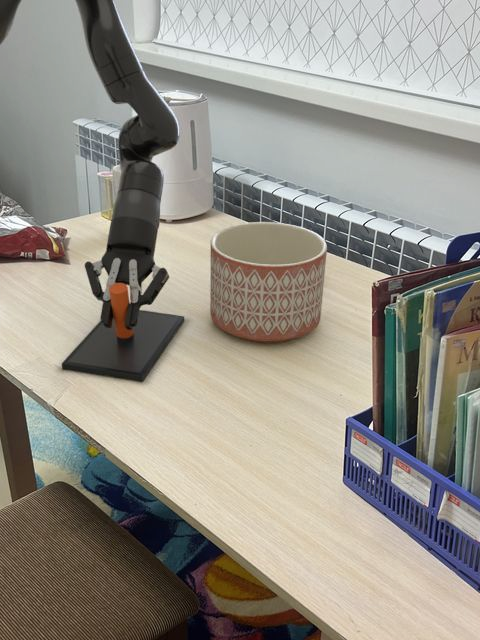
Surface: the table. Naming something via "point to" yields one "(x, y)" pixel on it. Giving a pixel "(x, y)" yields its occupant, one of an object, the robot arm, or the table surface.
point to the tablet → (125, 347)
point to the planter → (267, 280)
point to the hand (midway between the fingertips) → (118, 326)
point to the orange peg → (120, 311)
